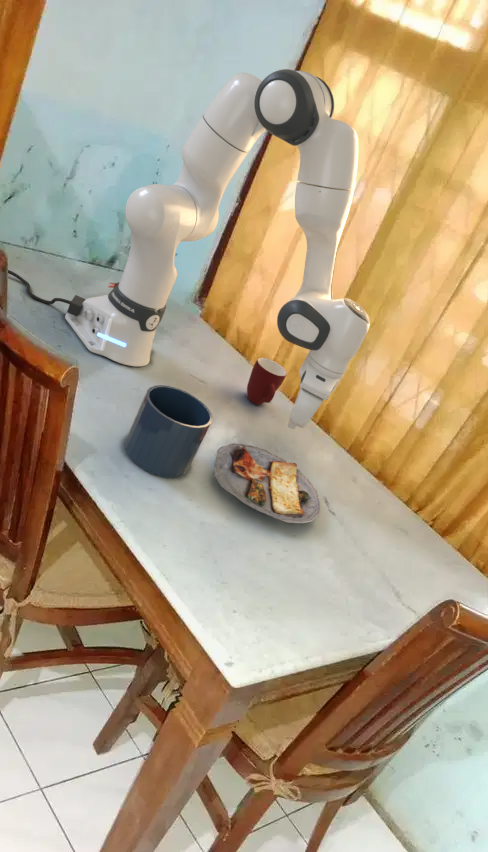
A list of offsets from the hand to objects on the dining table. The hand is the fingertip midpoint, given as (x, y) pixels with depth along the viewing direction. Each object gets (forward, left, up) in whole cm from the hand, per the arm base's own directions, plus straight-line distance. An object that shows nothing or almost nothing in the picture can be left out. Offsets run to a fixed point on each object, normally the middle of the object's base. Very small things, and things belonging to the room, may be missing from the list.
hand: (291, 425), depth 161 cm
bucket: (-5, -34, -7) cm, 36 cm away
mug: (-17, +11, -7) cm, 21 cm away
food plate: (+10, -16, -7) cm, 20 cm away
